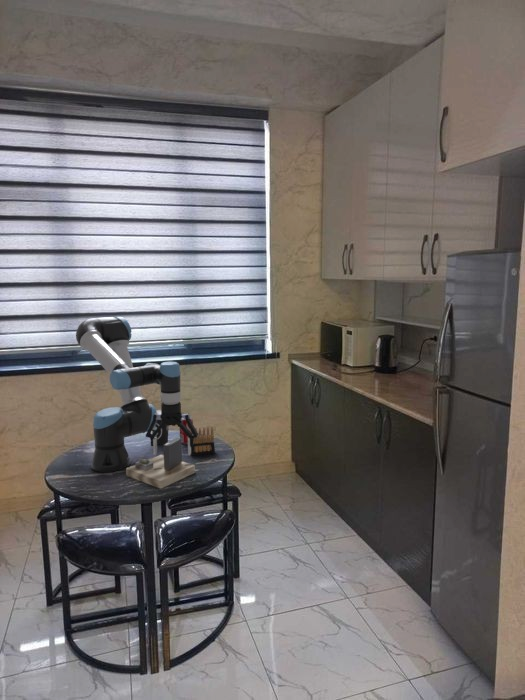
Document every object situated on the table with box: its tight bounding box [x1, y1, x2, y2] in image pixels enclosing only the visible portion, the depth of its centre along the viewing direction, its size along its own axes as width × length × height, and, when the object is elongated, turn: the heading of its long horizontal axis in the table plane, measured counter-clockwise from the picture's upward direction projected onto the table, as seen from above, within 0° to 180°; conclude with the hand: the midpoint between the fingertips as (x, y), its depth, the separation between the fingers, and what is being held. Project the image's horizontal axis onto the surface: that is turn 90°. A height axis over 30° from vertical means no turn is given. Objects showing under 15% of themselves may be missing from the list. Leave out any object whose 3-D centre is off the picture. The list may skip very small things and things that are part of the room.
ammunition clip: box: [190, 426, 216, 456], centre depth 210 cm, size 11×2×12 cm, turn 104°
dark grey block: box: [162, 437, 183, 471], centre depth 188 cm, size 9×2×10 cm, turn 158°
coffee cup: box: [151, 409, 170, 446], centre depth 223 cm, size 10×10×15 cm
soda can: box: [179, 416, 194, 445], centre depth 224 cm, size 6×6×12 cm
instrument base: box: [125, 454, 196, 489], centre depth 189 cm, size 20×18×6 cm
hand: (172, 454), depth 188 cm, fingers open, 13 cm apart
